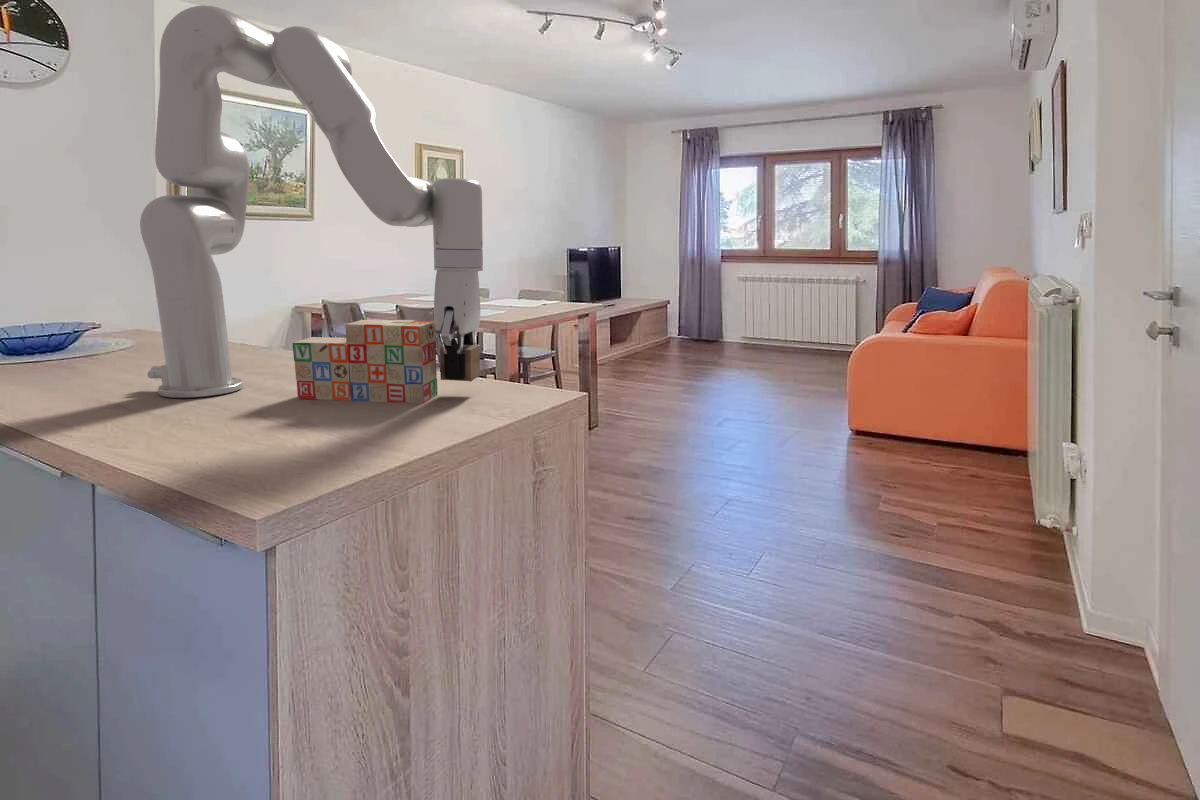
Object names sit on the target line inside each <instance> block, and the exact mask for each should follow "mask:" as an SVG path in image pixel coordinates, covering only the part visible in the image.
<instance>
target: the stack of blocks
mask: <svg viewBox="0 0 1200 800" xmlns="http://www.w3.org/2000/svg"><path fill="white" fill-rule="evenodd" d="M436 343H437V342H436V333H435V331H434V321H419V320H418V321H417V320H415V319H394V320H389V319H388V320H387V319H385V320H383V319H381V320H380V319H360V320H356V321H354V322H349V323H346V324H345V337H325V336H323V337H321V336H318V337H317V336H311V337H308V338H303V339H300V340H297V341H294V342H292V352H293V353H292V354H293V361H294V373H295V380H296V389H297V391H296V393H297V398H298V400H299V399H304V400H307V399H308V400H321V401H322V400H325V401H333V400H334V401H343V402H348V401H349V402H351V401H353V402H378V403H379V402H382V403H383V402H385V403H403V404H405V403H406V404H407V403H408V404H409V403H410V404H425V403H427V402H428V401H430V400H432V399H433V398H435V397H436V396H438V393H439V392H438V378H437V377H438V376H437V346H436V345H437V344H436Z"/></svg>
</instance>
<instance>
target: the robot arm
mask: <svg viewBox="0 0 1200 800" xmlns="http://www.w3.org/2000/svg"><path fill="white" fill-rule="evenodd" d="M351 65H352V64H351V62H350V60H349V57H348V56H347V54H346V52H345V51H344V50H343V48H342V47H341V46H340V45H339V44H338V43H336V42H335V41H332V40H331V39H329V38H328V37H326V36H325V35H322V34H321V33H319V32H318V31H315V30H313V29H311V28H308V27H305V26H301V25H300V26H299V25H297V26H296V25H295V26H290V27H286V28H284V29H282V30H281V31H279V32H277V31H273V30H269V29H266V28H263V27H262V26H259V25H257V24H256V23H253V22H252V21H249V20H248V19H246V18H244V17H242V16H241V15H239V14H237V13H234V12H232V11H230V10H227V9H225V8H222V7H217V6H213V5H196V6H190V7H188V8H186V9H184V10H182V11H180V12H178V13H176V14H175V16H174V17H172V19H170V20H169V22H168V23H167V24H166V26H165V28H164V31H163V33H162V36H161V41H160V46H159V96H158V102H157V103H158V104H157V106H158V107H157V118H156V132H155V133H156V134H155V145H154V146H155V147H154V159H155V165H156V169H157V172H159V174H160V176H161V177H162V178H164V180H166V181H168V182H169V183H171V184H174V185H176V186H180V187H183V188H184V187H185V188H191V195H183V194H169V195H162V196H159V197H156V198H154V199H153V200H151V201H150V202H149V203H148V204H146V206H145V207H144V208H143V210H142V212H141V215H140V220H139V226H140V227H139V228H140V234H141V238H142V242H143V244H144V247H145V249H146V253H147V255H148V260H149V262H150V267H151V270H152V271H151V272H152V275H153V283H154V288H155V289H154V290H155V296H156V303H157V309H158V318H159V325H160V330H161V332H160V333H161V339H162V347H163V353H164V363H165V364H162V365H153V366H152V367H150V369H149V370H148V372H147V377H148V378H149V379H161V385H159V386H158V388H157V390H158V391H157V392H158V395H160V396H161V397H165V398H174V399H177V398H179V399H180V398H181V399H185V398H186V399H187V398H188V399H189V398H203V397H211V396H212V397H213V396H219V395H226V394H229V393H232V392H237V391H238V390H240V389H241V390H242V388H243V387H244V381H243V379H241V378H238V377H234V376H233V372H232V363H231V356H230V355H231V354H230V346H229V337H228V328H227V321H226V310H225V303H224V295H223V287H222V281H221V277H220V274H219V271H218V268H217V266H216V263H215V261H214V258H213V256H214V255H223V254H227V253H229V252H231V251H233V250H234V249H235V248H236V247H237V246H238V245H239V243H240V242H241V240H242V237H243V235H244V232H245V225H246V223H245V222H246V216H247V215H246V214H247V205H248V195H249V185H250V184H249V183H250V164H249V160H248V157H247V154H246V153H247V152H246V151H245V149H244V147H242V145H241V143H240V142H239V141H238V140H236V139H235V138H234V137H233V136H232V135H230V134H228V133H225V132H223V131H221V125H222V124H221V117H222V113H223V112H222V111H223V100H222V93H221V88H220V85H219V82H218V74H219V73H226V74H228V75H230V76H234V77H236V78H240V79H242V80H244V81H247V82H250V83H253V84H256V85H260V86H261V85H262V86H265V87H271V88H276V89H279V90H280V89H281V90H284V91H285V90H286V91H291V92H292V93H293V94H294V96H295V97H296V98H297V99H298V101H299V102H300V104H301V105H302V106H303V108H304V109H305V111H306V112H307V113H308V114H309V115H310V117H311V118H312V119H313V121H314V123H316V125H317V126H318V127H319V129H320V131H321V132H322V133H323V135H324V136H325V138H326V139H327V141H328V143H329V145H330V149H331V152H332V153H333V156H334V158H335V161H336V162H337V165H338V167H339V169H340V171H341V173H342V174H343V176H344V177H345V179H346V180H347V182H348V183H349V185H350V186H351V187H352V188H353V190H354V191H355V193H356V194H357V195H358V197H359V198H360V199H361V201H363V203H364V205H365V206H366V208H368V209H369V211H370V212H371V213H372V214H373V216H375V217H376V218H378V219H379V220H380V221H381V222H383V223H385V224H387V225H388V226H392V227H407V228H409V227H412V228H414V227H415V228H419V227H427V226H432V229H433V231H432V232H433V233H432V235H433V236H432V237H433V238H432V239H433V270H434V271H436V274H435V281H434V282H435V283H434V293H433V294H434V295H433V298H434V299H433V322H434V331H435V335H436V334H437V335H440V338H441V341H442V344H443V347H444V369H445V378H447V379H464V378H465V354H462V353H463V345H477V344H476V330H477V329H478V328H479V327H480V323H481V297H480V296H481V294H480V280H479V279H480V277H479V272H483V271H484V263H483V261H484V259H483V257H484V256H483V255H484V250H483V249H484V248H483V245H484V242H483V240H484V239H483V238H484V237H483V234H484V233H483V190H482V186H481V184H480V183H479V182H478V181H476V180H474V179H470V178H453V177H452V178H448V177H447V178H446V177H445V178H444V177H443V178H439V179H437V180H430V179H425V178H420V177H414V176H411V175H407V174H406V173H404V171H403V170H402V168H401V167H400V166H399V164H398V163H397V162H396V161H395V159H394V158H393V157H392V155H391V154H390V152H389V151H388V150H387V148H386V146H385V145H384V143H383V141H382V140H381V138H380V136H379V134H378V132H377V129H376V117H377V113H376V112H377V111H376V108H375V107H374V105H373V104H372V102H371V101H370V100H369V98H367V96H366V95H365V93H364V92H363V91H362V89H361V88H360V86H359V85H358V84H357V82H356V81H355V79H353V77H352V75H353V73H352V72H353V71H352V66H351ZM453 332H455V333H453Z"/></svg>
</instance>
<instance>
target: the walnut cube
mask: <svg viewBox="0 0 1200 800" xmlns="http://www.w3.org/2000/svg"><path fill="white" fill-rule="evenodd" d="M480 346H481V345H479V344H476V345H463V353H462V354H465V378H464V379H447V378H445V369H444V346H443V347H440V348H439V369H440V372H439V373H440V381H441V380H442V381H457V382H458V381H460V382H461V381H462V382H472V381H474V380H476V379H477V378H478V377H480V376H481V351H480V350H481V349H480V348H481V347H480Z"/></svg>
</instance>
